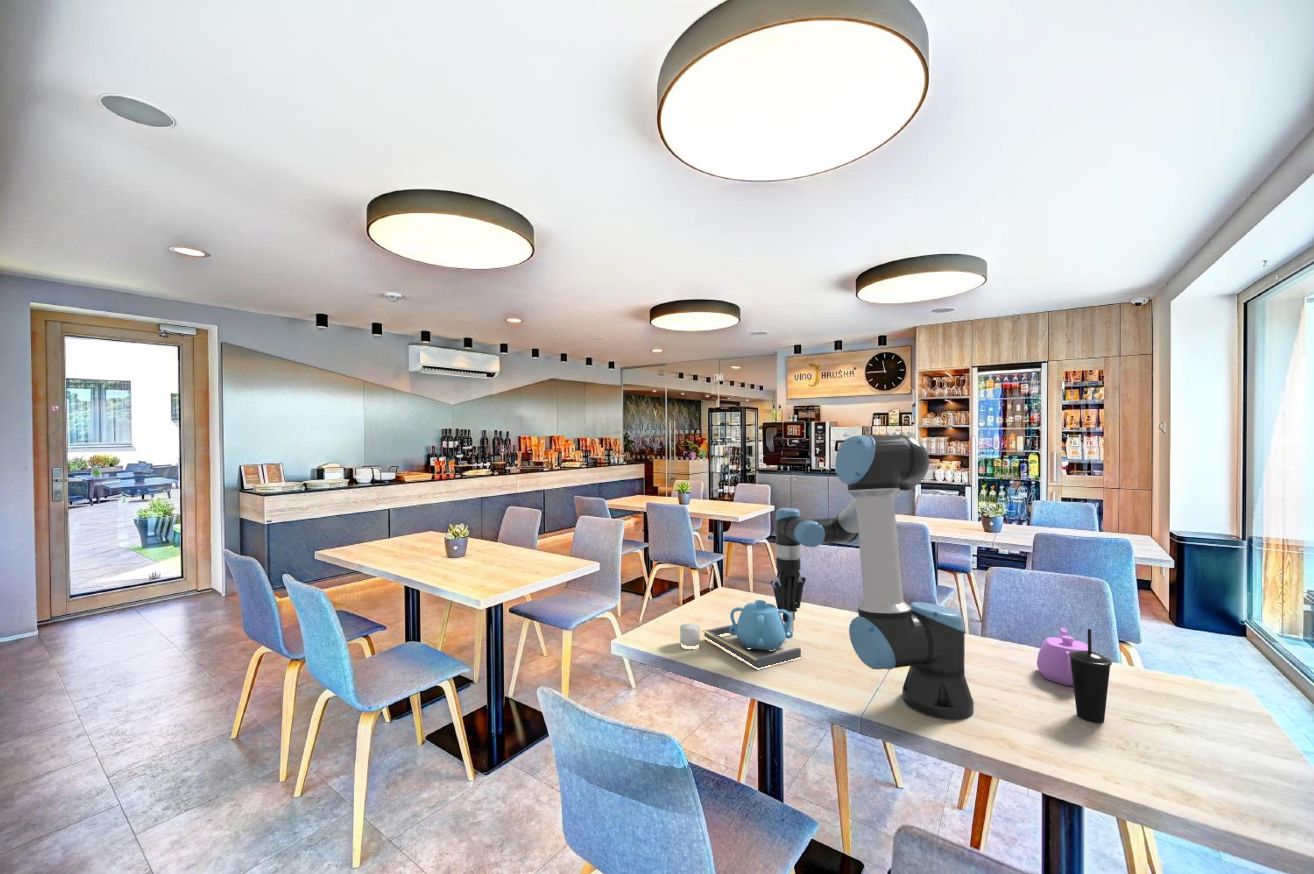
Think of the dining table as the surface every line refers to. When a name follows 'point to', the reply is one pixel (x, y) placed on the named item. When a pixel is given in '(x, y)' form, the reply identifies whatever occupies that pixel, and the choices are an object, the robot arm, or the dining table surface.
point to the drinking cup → (1090, 682)
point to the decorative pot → (760, 626)
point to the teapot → (1058, 658)
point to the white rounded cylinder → (690, 634)
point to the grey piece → (747, 656)
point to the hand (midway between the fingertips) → (788, 631)
